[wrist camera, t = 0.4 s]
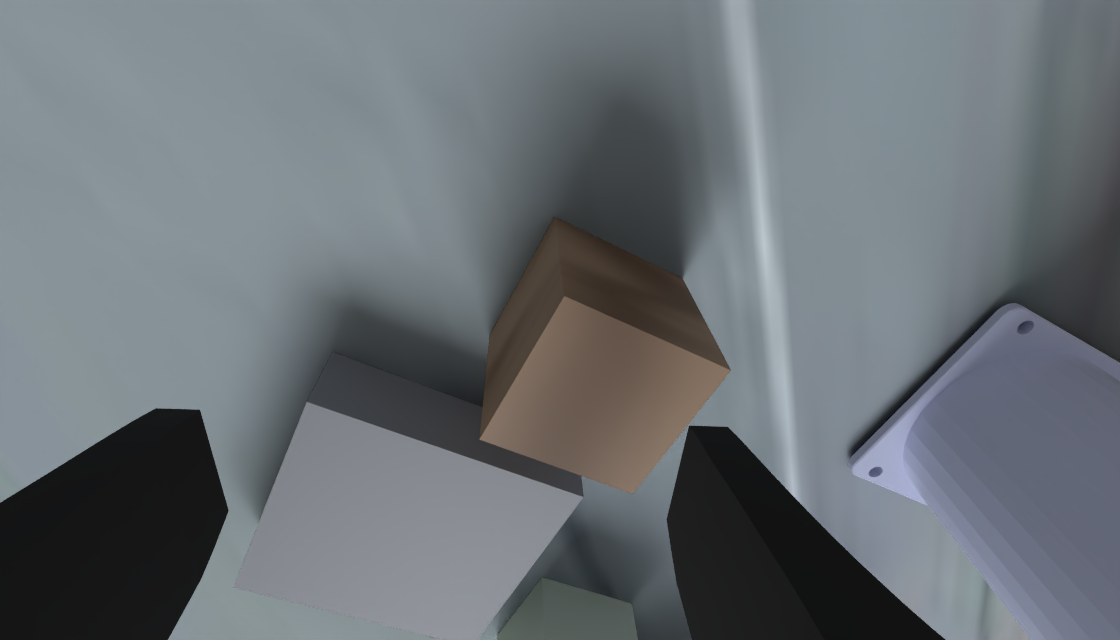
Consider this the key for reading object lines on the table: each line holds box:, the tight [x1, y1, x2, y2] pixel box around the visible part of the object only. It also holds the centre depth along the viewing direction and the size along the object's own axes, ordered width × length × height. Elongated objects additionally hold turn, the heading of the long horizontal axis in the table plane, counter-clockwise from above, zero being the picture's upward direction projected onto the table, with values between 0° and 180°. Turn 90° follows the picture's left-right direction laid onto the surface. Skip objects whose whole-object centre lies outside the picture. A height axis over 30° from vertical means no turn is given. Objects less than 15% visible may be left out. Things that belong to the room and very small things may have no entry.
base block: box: [233, 352, 583, 640], centre depth 21 cm, size 9×9×3 cm
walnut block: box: [479, 217, 731, 494], centre depth 17 cm, size 4×4×5 cm
